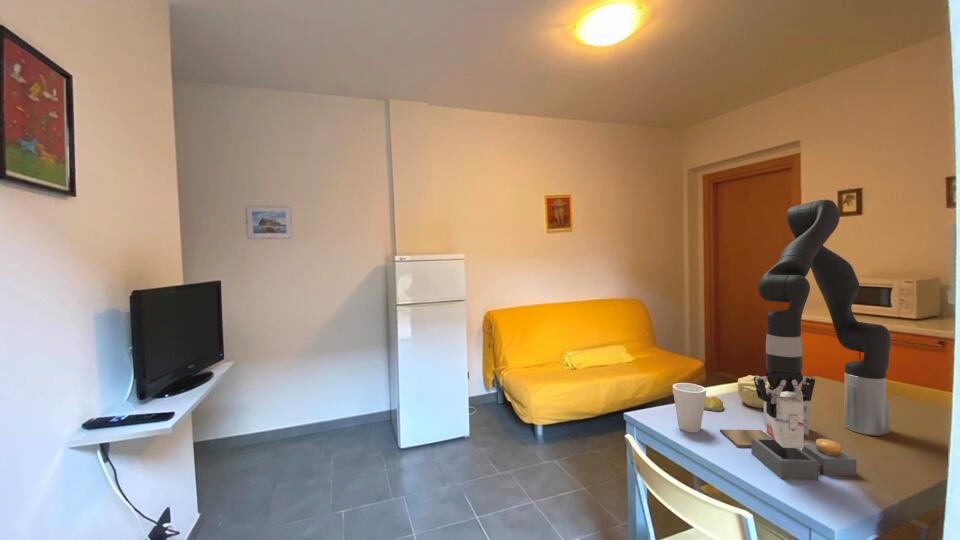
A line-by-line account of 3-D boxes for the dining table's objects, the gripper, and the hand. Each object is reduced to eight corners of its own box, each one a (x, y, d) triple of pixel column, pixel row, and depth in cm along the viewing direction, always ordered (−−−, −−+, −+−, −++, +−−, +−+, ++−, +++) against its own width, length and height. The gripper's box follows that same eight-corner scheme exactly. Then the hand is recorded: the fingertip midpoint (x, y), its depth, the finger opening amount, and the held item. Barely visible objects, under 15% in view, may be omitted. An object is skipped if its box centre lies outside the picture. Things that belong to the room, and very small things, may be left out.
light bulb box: (803, 427, 128) (803, 393, 127) (809, 436, 121) (810, 400, 121) (762, 422, 132) (762, 389, 132) (767, 430, 126) (767, 396, 126)
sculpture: (734, 405, 147) (734, 376, 146) (743, 397, 155) (743, 369, 154) (772, 414, 138) (772, 383, 138) (780, 404, 146) (780, 375, 146)
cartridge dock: (825, 455, 110) (825, 438, 110) (864, 480, 98) (865, 462, 97) (751, 453, 112) (751, 437, 112) (781, 479, 99) (781, 461, 99)
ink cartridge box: (765, 433, 110) (765, 379, 109) (785, 434, 109) (785, 380, 108) (782, 448, 101) (782, 390, 101) (804, 449, 100) (804, 391, 100)
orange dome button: (830, 459, 106) (830, 438, 106) (845, 469, 102) (845, 447, 101) (811, 459, 107) (811, 438, 107) (825, 469, 102) (825, 447, 102)
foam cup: (667, 422, 134) (667, 383, 133) (694, 420, 134) (693, 382, 134) (683, 435, 124) (683, 393, 124) (712, 433, 125) (712, 391, 124)
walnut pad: (760, 432, 125) (760, 429, 125) (782, 448, 115) (782, 445, 115) (720, 432, 126) (720, 429, 126) (737, 447, 116) (737, 444, 116)
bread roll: (695, 401, 152) (695, 391, 152) (723, 406, 147) (723, 395, 147) (694, 409, 145) (693, 398, 145) (723, 413, 140) (723, 402, 140)
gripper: (802, 348, 107) (803, 410, 108) (746, 348, 108) (746, 411, 109) (824, 355, 100) (824, 422, 100) (763, 356, 101) (763, 422, 102)
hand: (784, 416), depth 105 cm, fingers closed on ink cartridge box, 5 cm apart
